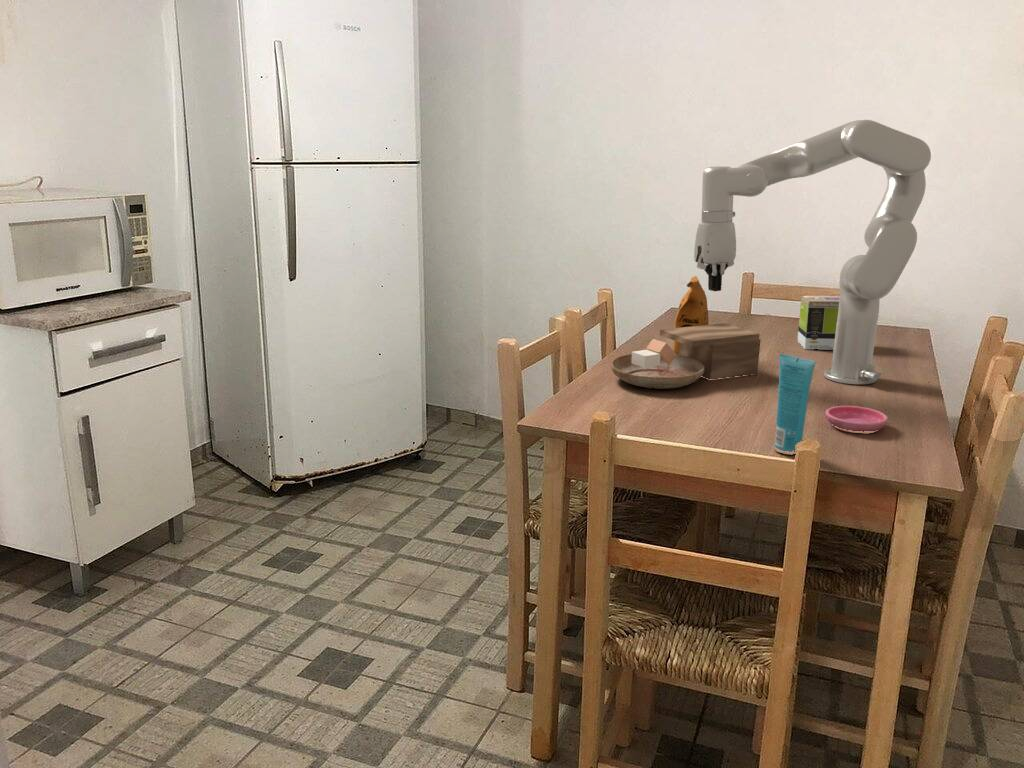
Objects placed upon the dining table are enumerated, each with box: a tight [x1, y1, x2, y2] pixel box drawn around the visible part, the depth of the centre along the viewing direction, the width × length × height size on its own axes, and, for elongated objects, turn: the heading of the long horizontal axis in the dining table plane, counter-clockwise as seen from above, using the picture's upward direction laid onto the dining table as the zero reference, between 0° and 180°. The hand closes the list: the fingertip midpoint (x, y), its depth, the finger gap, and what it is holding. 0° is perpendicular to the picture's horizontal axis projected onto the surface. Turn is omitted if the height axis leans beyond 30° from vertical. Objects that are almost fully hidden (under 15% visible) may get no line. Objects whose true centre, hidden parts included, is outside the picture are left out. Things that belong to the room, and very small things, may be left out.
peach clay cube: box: [646, 338, 676, 364], centre depth 212 cm, size 5×5×3 cm
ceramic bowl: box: [610, 353, 705, 390], centre depth 212 cm, size 23×24×5 cm
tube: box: [774, 353, 817, 452], centre depth 163 cm, size 7×5×19 cm, turn 47°
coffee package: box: [672, 275, 710, 355], centre depth 235 cm, size 10×12×22 cm
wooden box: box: [659, 322, 761, 379], centre depth 220 cm, size 14×22×11 cm, turn 114°
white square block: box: [631, 349, 660, 368], centre depth 210 cm, size 5×5×3 cm
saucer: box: [824, 405, 889, 432], centre depth 180 cm, size 12×12×3 cm
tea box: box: [797, 295, 840, 351], centre depth 248 cm, size 15×10×15 cm, turn 84°
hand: (714, 290), depth 215 cm, fingers closed
